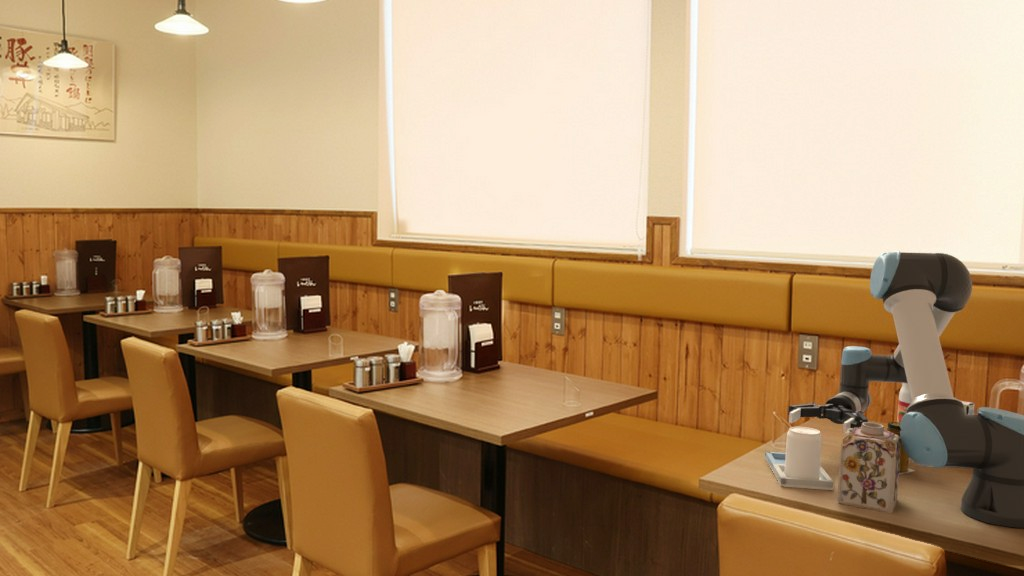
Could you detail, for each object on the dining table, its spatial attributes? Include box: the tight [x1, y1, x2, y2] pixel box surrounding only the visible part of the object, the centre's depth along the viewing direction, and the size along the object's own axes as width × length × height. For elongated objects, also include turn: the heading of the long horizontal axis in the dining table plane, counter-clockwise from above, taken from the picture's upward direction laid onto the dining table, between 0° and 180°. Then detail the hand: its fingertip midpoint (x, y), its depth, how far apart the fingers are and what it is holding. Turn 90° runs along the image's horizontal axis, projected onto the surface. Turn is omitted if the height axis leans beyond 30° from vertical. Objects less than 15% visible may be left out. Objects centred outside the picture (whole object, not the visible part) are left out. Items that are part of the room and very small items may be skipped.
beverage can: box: [785, 426, 823, 479], centre depth 202 cm, size 8×8×12 cm
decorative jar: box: [836, 421, 901, 514], centre depth 189 cm, size 12×12×18 cm
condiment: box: [886, 421, 916, 476], centre depth 215 cm, size 7×8×12 cm
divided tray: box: [764, 451, 834, 491], centre depth 209 cm, size 23×12×2 cm, turn 172°
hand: (817, 423), depth 210 cm, fingers open, 13 cm apart
